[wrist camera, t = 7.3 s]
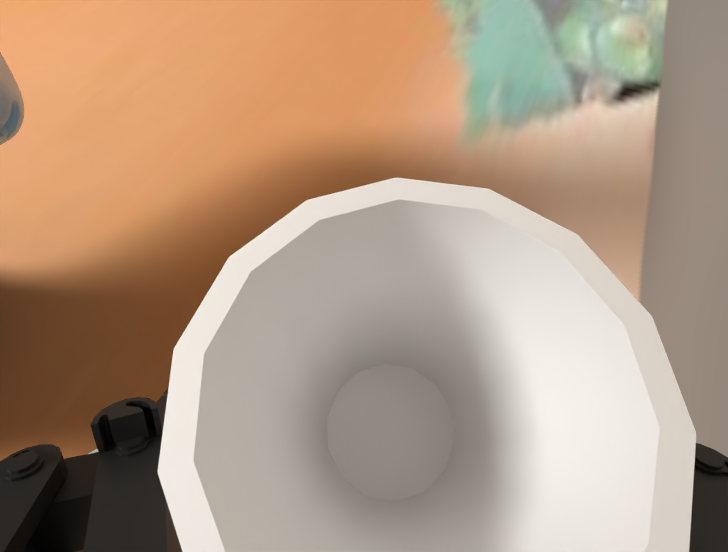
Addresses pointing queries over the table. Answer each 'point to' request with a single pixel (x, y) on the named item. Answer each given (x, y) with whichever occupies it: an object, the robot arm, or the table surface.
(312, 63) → the table surface
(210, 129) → the table surface
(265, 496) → the foam cup
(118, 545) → the robot arm
